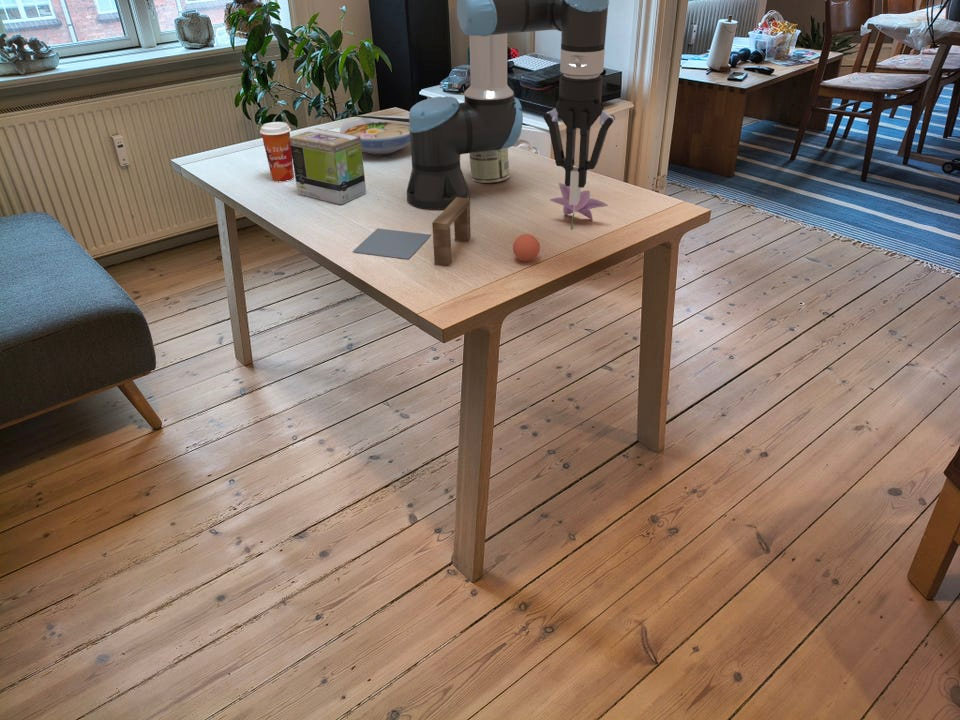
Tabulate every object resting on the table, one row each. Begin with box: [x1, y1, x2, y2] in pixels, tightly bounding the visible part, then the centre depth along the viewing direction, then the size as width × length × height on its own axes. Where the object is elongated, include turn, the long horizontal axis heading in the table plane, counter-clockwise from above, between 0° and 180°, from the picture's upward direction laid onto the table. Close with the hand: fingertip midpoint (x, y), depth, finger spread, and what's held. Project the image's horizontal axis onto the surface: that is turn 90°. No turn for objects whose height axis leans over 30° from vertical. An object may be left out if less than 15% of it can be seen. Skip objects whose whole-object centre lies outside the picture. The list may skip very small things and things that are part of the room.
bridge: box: [431, 197, 472, 267], centre depth 157 cm, size 3×14×9 cm, turn 162°
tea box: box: [289, 127, 367, 205], centre depth 185 cm, size 15×10×15 cm, turn 57°
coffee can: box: [468, 148, 510, 184], centre depth 194 cm, size 10×10×14 cm
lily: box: [549, 182, 608, 230], centre depth 169 cm, size 12×12×10 cm
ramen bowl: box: [339, 114, 411, 156], centre depth 216 cm, size 25×23×8 cm
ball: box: [512, 233, 541, 262], centre depth 154 cm, size 6×6×6 cm
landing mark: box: [351, 228, 432, 261], centre depth 163 cm, size 13×13×1 cm
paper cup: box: [259, 121, 295, 183], centre depth 196 cm, size 8×8×14 cm
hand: (574, 202), depth 144 cm, fingers closed
